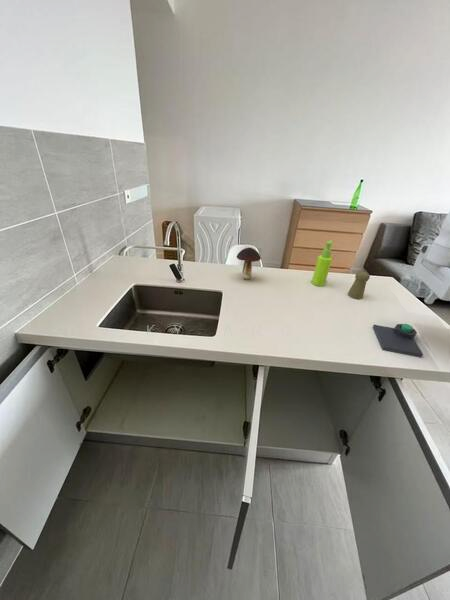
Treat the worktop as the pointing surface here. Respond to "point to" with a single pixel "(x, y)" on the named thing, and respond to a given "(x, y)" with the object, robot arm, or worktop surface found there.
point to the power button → (407, 328)
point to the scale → (397, 340)
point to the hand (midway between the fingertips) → (423, 298)
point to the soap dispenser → (322, 266)
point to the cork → (359, 285)
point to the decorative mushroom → (248, 260)
